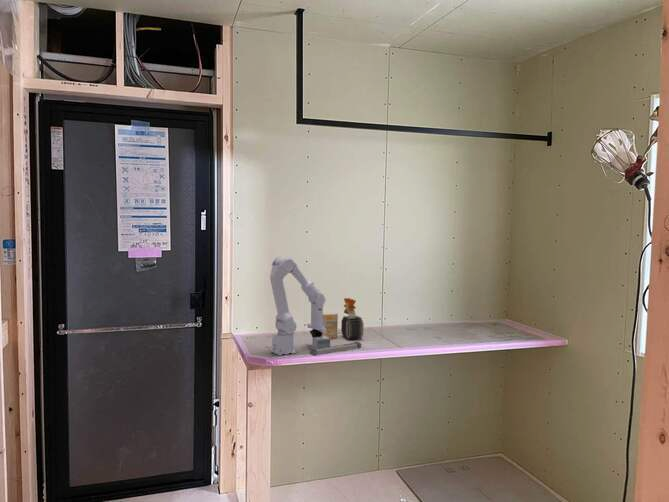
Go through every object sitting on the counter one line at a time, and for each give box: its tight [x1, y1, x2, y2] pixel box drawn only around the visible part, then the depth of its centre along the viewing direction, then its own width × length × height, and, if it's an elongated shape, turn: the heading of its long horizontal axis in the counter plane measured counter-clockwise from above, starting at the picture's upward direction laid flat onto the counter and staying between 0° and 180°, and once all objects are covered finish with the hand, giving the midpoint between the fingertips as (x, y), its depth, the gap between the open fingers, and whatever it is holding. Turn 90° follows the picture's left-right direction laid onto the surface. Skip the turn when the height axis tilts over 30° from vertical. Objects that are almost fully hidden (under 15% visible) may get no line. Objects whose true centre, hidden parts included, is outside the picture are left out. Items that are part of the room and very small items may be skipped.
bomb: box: [340, 297, 365, 341], centre depth 251 cm, size 8×13×20 cm, turn 22°
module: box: [311, 336, 331, 349], centre depth 226 cm, size 7×5×6 cm
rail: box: [309, 341, 362, 356], centre depth 224 cm, size 26×4×2 cm, turn 124°
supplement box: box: [322, 312, 339, 340], centre depth 250 cm, size 8×5×13 cm, turn 126°
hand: (316, 345), depth 230 cm, fingers closed
